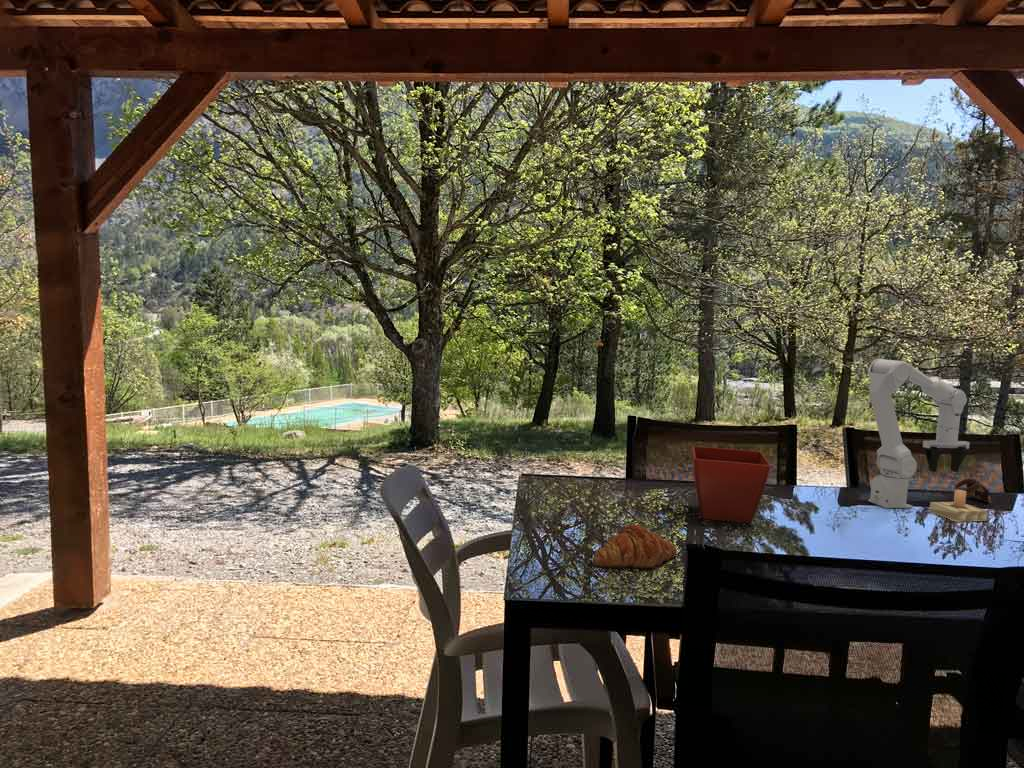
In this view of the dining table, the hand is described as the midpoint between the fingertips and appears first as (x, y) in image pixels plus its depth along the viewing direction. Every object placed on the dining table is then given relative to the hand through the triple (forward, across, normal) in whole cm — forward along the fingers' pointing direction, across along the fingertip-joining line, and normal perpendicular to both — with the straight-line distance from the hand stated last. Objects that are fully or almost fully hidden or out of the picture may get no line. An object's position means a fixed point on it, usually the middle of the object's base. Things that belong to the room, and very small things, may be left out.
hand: (943, 471), depth 229 cm
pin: (+9, -7, -15) cm, 19 cm away
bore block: (+10, -7, -15) cm, 19 cm away
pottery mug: (+10, +14, +3) cm, 17 cm away
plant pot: (+10, -77, -12) cm, 79 cm away
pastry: (+10, -115, -46) cm, 125 cm away
